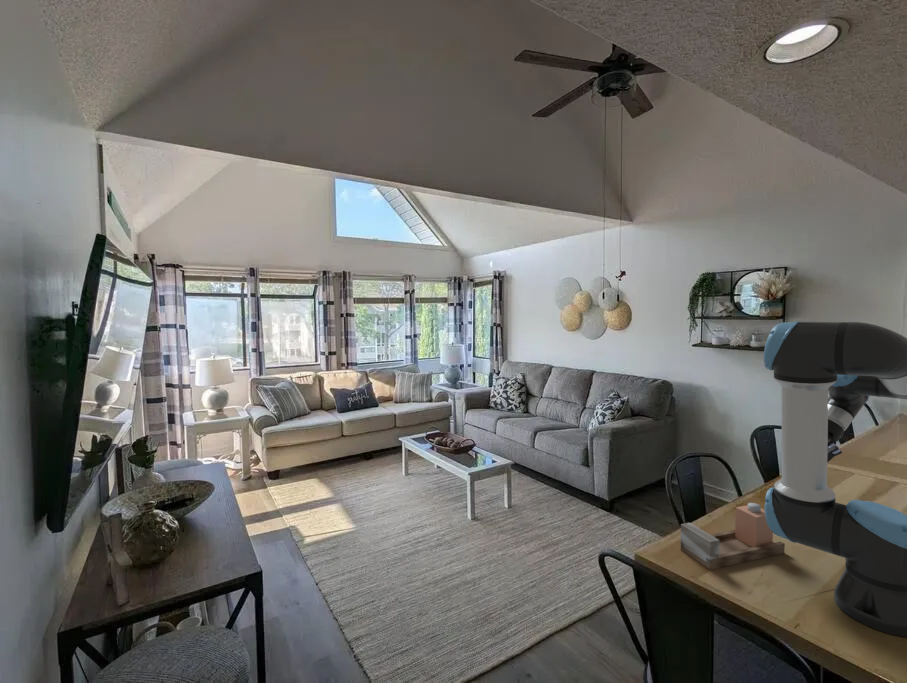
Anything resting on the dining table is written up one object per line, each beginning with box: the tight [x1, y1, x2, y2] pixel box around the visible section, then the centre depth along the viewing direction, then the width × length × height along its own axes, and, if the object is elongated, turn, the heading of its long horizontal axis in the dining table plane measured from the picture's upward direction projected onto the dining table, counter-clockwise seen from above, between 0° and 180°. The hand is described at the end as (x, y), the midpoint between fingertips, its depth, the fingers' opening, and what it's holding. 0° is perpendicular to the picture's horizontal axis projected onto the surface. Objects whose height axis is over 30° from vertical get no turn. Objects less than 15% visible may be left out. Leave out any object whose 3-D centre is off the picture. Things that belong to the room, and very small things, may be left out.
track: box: [680, 522, 786, 570], centre depth 122 cm, size 25×10×8 cm, turn 105°
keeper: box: [734, 502, 774, 547], centre depth 124 cm, size 6×6×11 cm
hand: (784, 486), depth 126 cm, fingers closed
